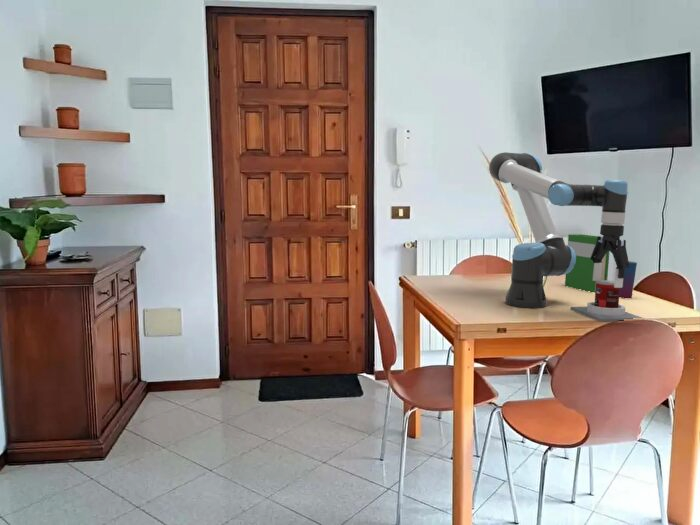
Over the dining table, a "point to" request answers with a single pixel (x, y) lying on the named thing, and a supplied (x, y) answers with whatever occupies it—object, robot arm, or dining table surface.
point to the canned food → (606, 294)
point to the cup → (628, 281)
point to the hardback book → (584, 263)
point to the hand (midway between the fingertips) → (607, 284)
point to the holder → (604, 312)
